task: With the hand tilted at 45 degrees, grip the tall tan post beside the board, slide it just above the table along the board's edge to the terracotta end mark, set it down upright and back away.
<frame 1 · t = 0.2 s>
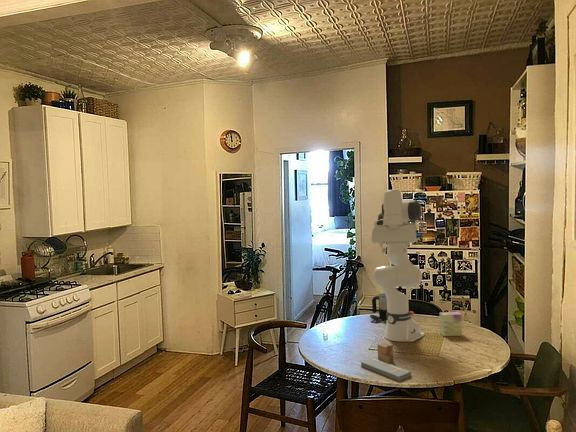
hand: (394, 252, 211), 51 cm above the table, tool tilted 20°, fingers open, 8 cm apart
board: (385, 371, 204), on the table
milk frother: (382, 319, 286), on the table
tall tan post: (385, 361, 216), on the table
box: (450, 334, 252), on the table
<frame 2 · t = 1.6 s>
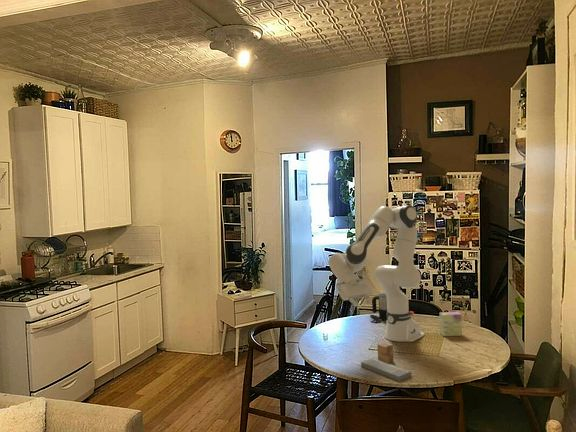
hand: (363, 304, 225), 24 cm above the table, tool tilted 45°, fingers open, 8 cm apart
nothing on the table moved.
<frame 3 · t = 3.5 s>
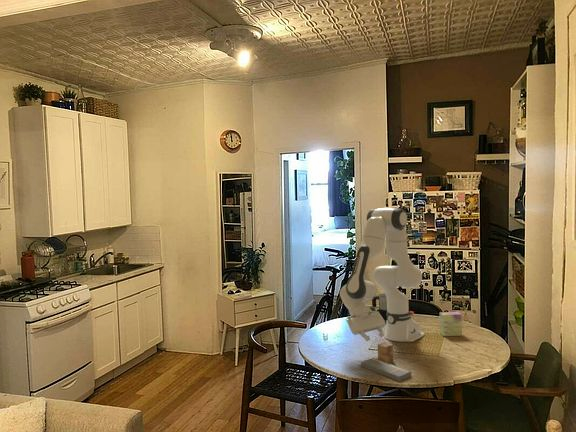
hand: (375, 338, 220), 10 cm above the table, tool tilted 45°, fingers open, 8 cm apart
nothing on the table moved.
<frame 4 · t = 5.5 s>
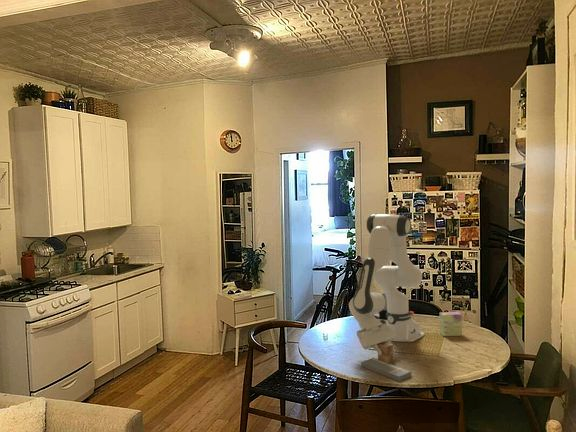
hand: (386, 352, 215), 4 cm above the table, tool tilted 45°, fingers closed on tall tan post, 5 cm apart
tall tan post: (385, 361, 216), on the table, touching gripper
everything else where it was.
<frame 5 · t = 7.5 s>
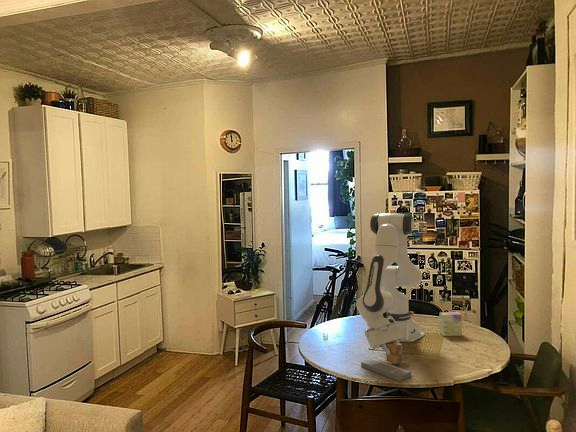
hand: (395, 352, 211), 6 cm above the table, tool tilted 45°, fingers closed on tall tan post, 5 cm apart
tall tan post: (394, 361, 212), point 2 cm above the table, touching gripper
everything else where it was.
when the fingers open (5 cm above the table, at t = 9.8 s): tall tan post drops 1 cm, on the table.
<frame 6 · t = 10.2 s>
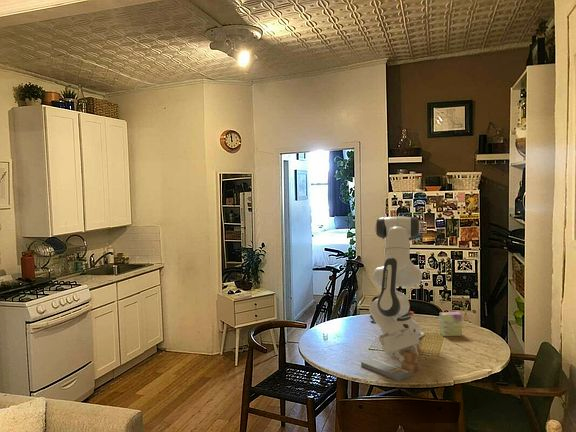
hand: (410, 358, 204), 5 cm above the table, tool tilted 45°, fingers open, 8 cm apart
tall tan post: (409, 370, 205), on the table
everything else where it was.
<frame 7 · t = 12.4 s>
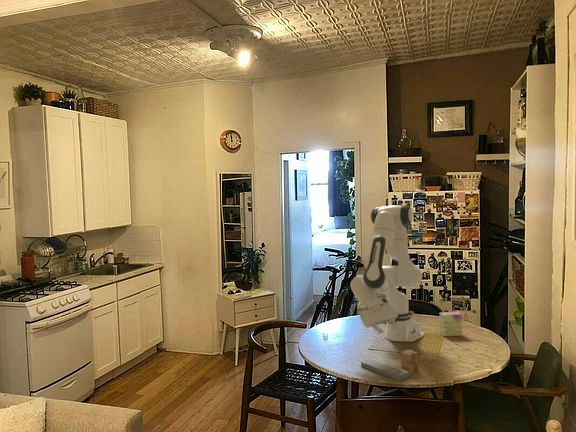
hand: (388, 330, 214), 15 cm above the table, tool tilted 45°, fingers open, 8 cm apart
nothing on the table moved.
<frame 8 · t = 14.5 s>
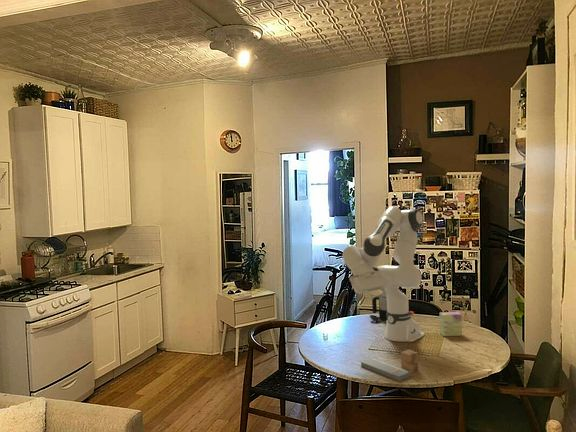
hand: (378, 297, 219), 29 cm above the table, tool tilted 45°, fingers open, 8 cm apart
nothing on the table moved.
at the end: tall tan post 0.0 cm from the target spot, on the table; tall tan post tilted 0°; the gripper is holding nothing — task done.
